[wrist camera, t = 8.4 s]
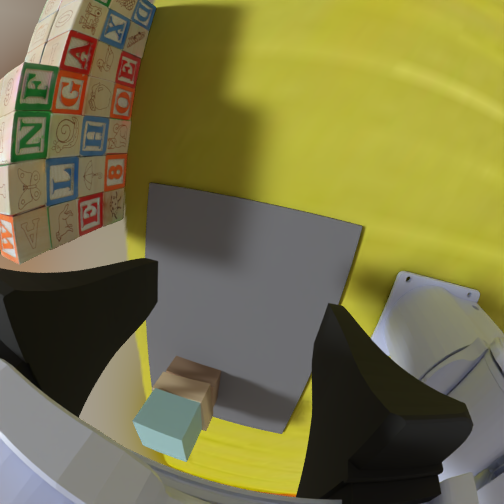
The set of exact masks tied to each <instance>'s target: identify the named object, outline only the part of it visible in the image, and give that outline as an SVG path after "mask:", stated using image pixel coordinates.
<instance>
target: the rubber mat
mask: <svg viewBox="0 0 504 504" xmlns="http://www.w3.org/2000/svg"><path fill="white" fill-rule="evenodd" d="M361 230H362V226H361V225H357V224H353V223H350V222H346V221H342V220H338V219H334V218H330V217H325V216H321V215H317V214H313V213H309V212H304V211H300V210H295V209H291V208H286V207H282V206H277V205H273V204H268V203H263V202H258V201H253V200H248V199H243V198H238V197H233V196H228V195H222V194H217V193H211V192H206V191H200V190H194V189H188V188H182V187H176V186H170V185H163V184H157V183H149V194H148V207H147V223H146V248H145V258H148V259H152V260H156V261H158V302H157V304H156V305H155V307H154V309H153V310H152V312H151V313H150V315H149V316H148V317H147V319H146V326H147V342H148V354H149V365H150V375H151V383H152V387H153V386H154V384H155V383H156V381H157V380H158V378H159V377H160V376H161V374H162V373H163V372H166V370H167V368H168V367H169V365H170V364H171V362H172V361H173V360H174V358H175V357H176V356H179V357H182V358H185V359H187V360H190V361H193V362H196V363H199V364H202V365H205V366H208V367H212V368H215V369H218V370H221V377H220V383H219V390H218V397H217V401H216V403H215V405H214V408H213V417H216V418H219V419H223V420H226V421H230V422H233V423H237V424H241V425H244V426H248V427H252V428H257V429H261V430H265V431H270V432H275V433H280V434H282V432H283V430H284V428H285V426H286V424H287V423H288V421H289V419H290V417H291V415H292V413H293V411H294V409H295V407H296V404H297V402H298V400H299V398H300V396H301V394H302V392H303V390H304V387H305V385H306V383H307V381H308V379H309V376H310V374H311V372H312V355H313V346H314V341H315V339H316V336H317V333H318V331H319V328H320V325H321V322H322V320H323V317H324V314H325V311H326V308H327V305H328V303H331V304H336V305H338V304H339V301H340V298H341V295H342V292H343V289H344V286H345V283H346V280H347V277H348V274H349V271H350V268H351V264H352V261H353V258H354V254H355V251H356V248H357V244H358V241H359V237H360V233H361ZM152 391H153V389H152Z"/></svg>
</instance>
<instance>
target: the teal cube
mask: <svg viewBox="0 0 504 504" xmlns="http://www.w3.org/2000/svg"><path fill="white" fill-rule="evenodd" d="M133 423H134V426H135V428H136V430H137V433H138V435H139V437H140V440H141V442H142V444H143V445H144V446H146V447H149V448H151V449H153V450H156V451H158V452H161V453H163V454H166V455H169V456H171V457H174V458H177V459H180V460H183V461H185V462H187V460H188V458H189V456H190V454H191V451H192V449H193V447H194V445H195V443H196V440H197V438H198V436H199V434H200V432H201V429H202V420H201V405H200V402H196V401H193V400H190V399H187V398H183V397H180V396H177V395H174V394H171V393H168V392H166V391H163V390H160V389H157V388H155V389H154V390H153V392H152V393H151V395H150V396H149V398H148V399H147V401H146V402H145V404H144V405H143V407H142V408H141V409H140V411H139V412H138V414H137V415H136V417H135V418H134V419H133Z"/></svg>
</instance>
